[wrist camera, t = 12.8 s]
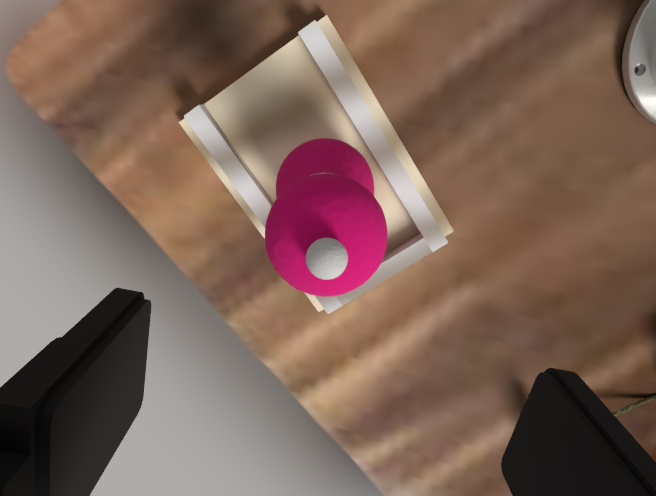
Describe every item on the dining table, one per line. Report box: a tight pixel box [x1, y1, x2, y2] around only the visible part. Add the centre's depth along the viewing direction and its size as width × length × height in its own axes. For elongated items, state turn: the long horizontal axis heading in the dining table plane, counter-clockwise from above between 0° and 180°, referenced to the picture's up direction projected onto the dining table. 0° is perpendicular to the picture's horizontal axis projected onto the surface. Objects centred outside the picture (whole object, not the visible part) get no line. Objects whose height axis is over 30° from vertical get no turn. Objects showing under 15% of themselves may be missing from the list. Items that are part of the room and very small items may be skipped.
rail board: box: [179, 15, 453, 314], centre depth 37 cm, size 20×14×2 cm
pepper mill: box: [265, 138, 388, 297], centre depth 27 cm, size 7×7×20 cm
